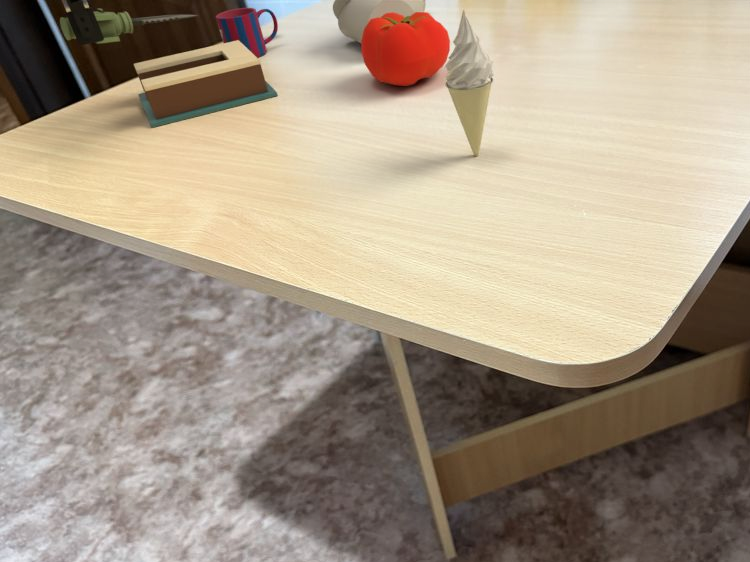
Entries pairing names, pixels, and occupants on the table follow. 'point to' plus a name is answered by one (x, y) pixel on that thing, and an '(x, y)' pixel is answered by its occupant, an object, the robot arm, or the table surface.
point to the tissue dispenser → (200, 82)
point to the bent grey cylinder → (370, 13)
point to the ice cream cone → (470, 82)
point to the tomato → (404, 47)
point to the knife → (117, 24)
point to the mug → (245, 28)
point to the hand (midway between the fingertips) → (90, 36)
